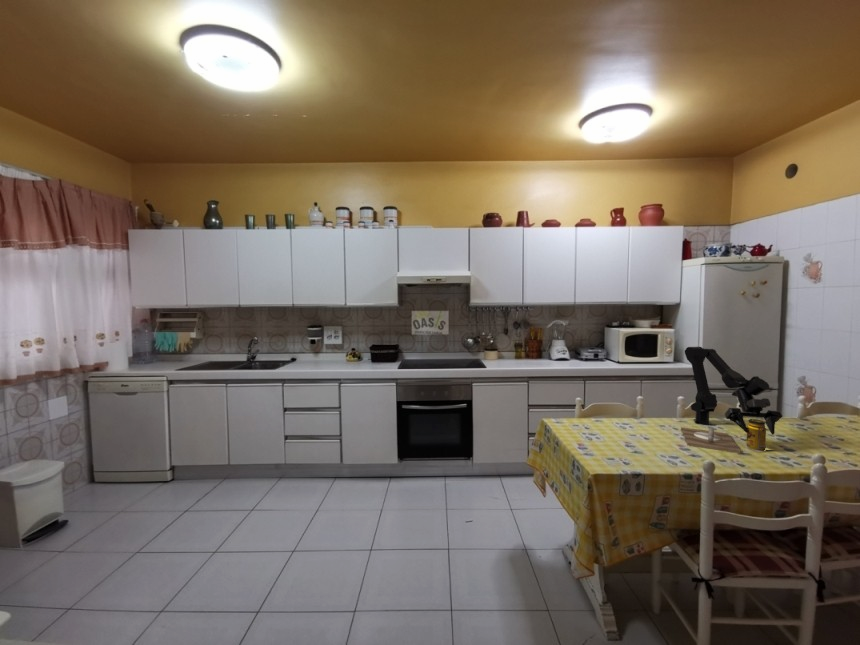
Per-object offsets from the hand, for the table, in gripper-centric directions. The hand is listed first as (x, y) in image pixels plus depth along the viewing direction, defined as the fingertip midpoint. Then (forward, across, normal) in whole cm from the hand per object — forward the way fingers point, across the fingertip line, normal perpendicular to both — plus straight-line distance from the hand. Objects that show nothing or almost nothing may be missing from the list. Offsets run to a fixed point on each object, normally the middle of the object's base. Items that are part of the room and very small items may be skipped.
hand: (760, 433), depth 156 cm
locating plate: (+1, -16, +9) cm, 19 cm away
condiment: (+4, 0, +6) cm, 7 cm away
